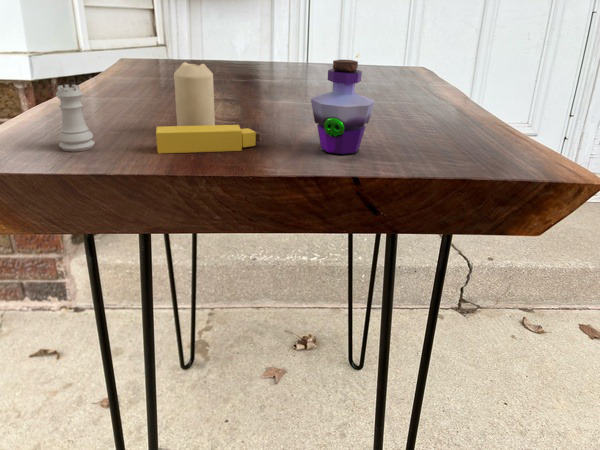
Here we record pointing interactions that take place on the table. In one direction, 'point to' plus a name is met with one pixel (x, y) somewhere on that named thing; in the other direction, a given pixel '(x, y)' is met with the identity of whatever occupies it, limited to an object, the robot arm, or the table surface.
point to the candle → (194, 95)
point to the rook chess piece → (73, 121)
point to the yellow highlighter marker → (204, 138)
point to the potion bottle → (342, 111)
